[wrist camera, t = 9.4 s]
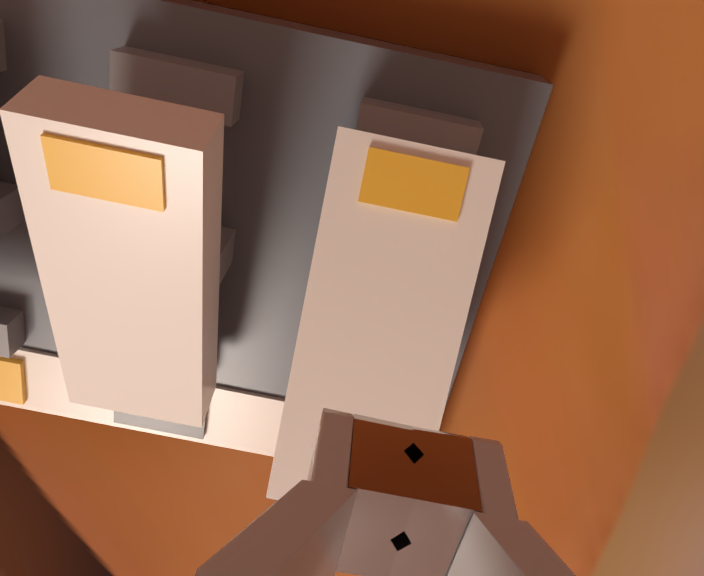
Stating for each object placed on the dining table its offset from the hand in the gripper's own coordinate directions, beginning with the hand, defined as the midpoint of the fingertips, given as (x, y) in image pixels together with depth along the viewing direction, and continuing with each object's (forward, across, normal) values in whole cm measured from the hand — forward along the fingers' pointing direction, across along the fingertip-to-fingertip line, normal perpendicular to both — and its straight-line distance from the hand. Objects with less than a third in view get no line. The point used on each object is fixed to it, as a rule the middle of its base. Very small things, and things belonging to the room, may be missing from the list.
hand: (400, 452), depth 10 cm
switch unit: (+15, +8, +5) cm, 18 cm away
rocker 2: (+9, 0, +4) cm, 10 cm away
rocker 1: (+9, +8, +4) cm, 13 cm away
